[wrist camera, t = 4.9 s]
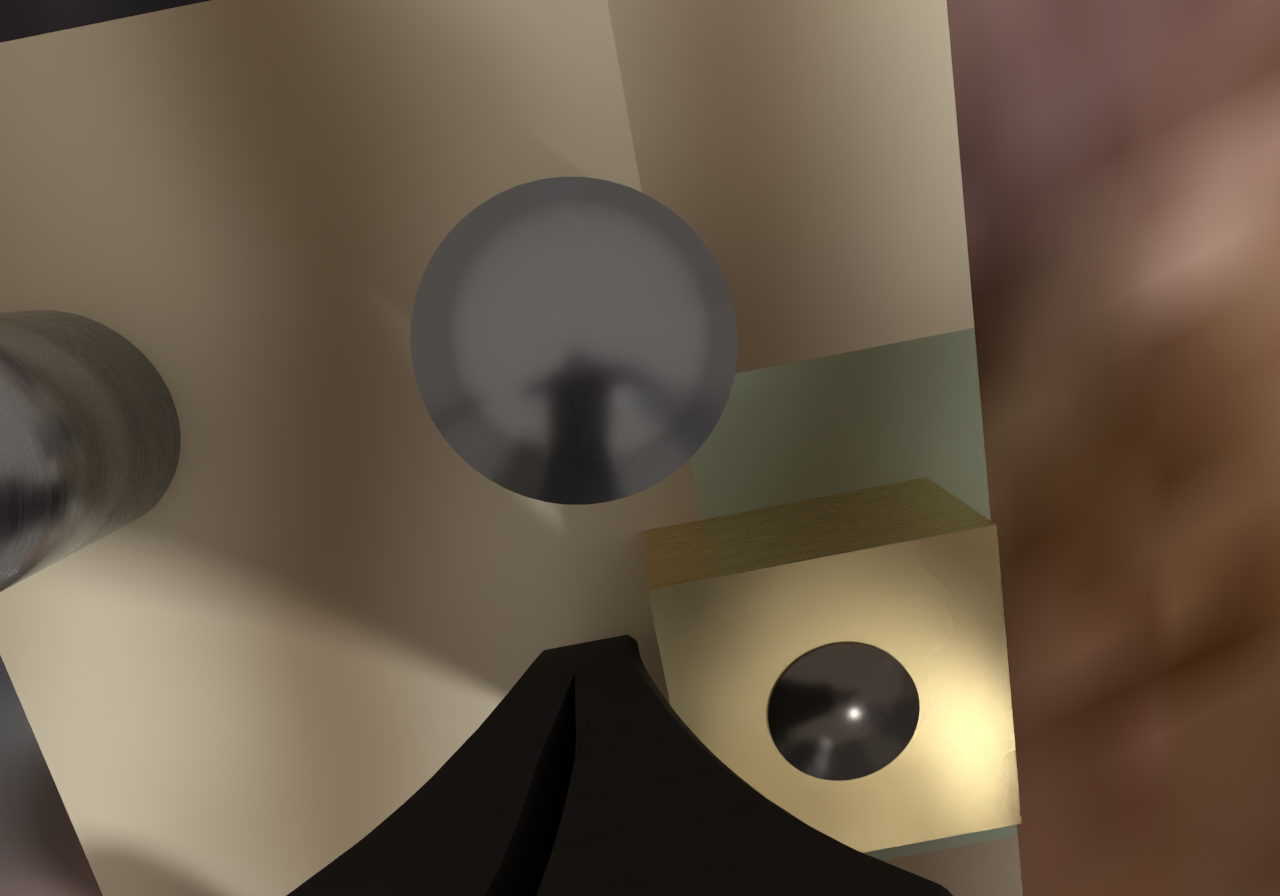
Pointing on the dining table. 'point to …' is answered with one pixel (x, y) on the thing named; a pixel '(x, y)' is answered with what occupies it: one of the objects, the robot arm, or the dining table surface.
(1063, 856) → the dining table surface
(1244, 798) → the dining table surface
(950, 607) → the brass nut
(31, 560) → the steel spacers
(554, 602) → the birch board
